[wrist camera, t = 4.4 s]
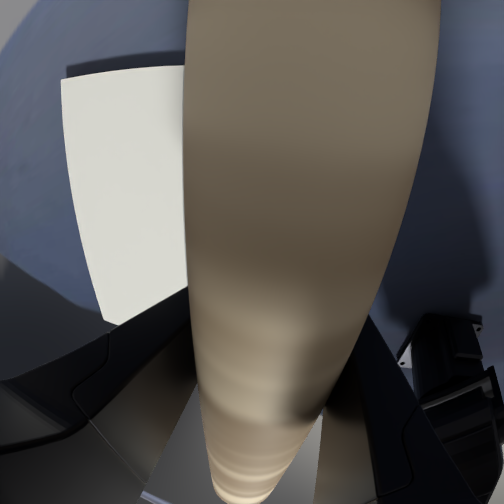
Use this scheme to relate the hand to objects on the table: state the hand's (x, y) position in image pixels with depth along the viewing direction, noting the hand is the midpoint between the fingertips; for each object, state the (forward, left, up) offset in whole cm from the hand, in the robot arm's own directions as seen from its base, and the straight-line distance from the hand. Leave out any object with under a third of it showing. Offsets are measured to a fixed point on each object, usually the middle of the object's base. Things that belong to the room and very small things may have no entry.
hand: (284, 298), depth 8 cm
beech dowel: (0, 0, +2) cm, 2 cm away
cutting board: (-7, +14, -13) cm, 20 cm away
